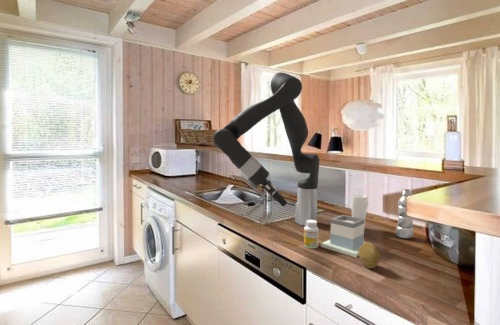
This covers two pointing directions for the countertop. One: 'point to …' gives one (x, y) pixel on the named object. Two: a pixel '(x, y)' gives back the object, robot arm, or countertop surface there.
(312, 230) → the supplement bottle
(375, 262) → the potato
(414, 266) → the countertop surface
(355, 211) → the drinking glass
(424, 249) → the countertop surface
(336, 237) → the brick tower
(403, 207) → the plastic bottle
